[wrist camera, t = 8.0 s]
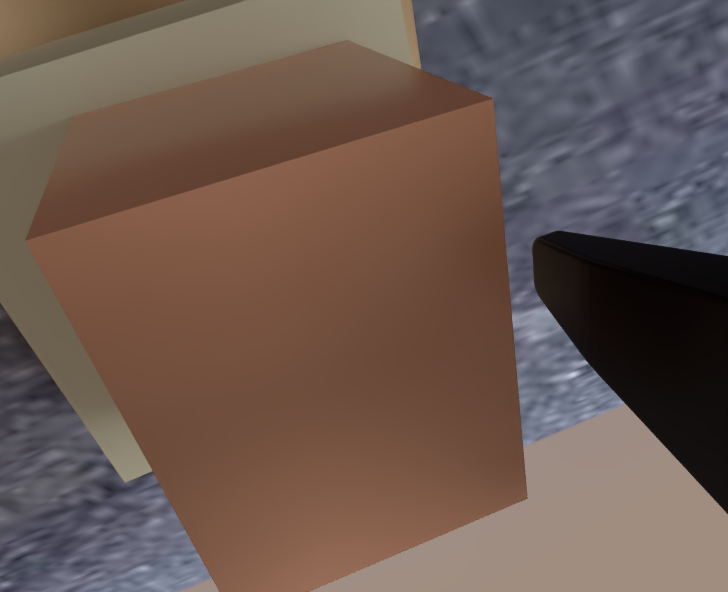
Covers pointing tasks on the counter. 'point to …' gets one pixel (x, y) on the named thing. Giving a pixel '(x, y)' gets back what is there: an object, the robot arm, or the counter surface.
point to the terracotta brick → (297, 307)
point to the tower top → (116, 85)
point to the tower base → (99, 20)
